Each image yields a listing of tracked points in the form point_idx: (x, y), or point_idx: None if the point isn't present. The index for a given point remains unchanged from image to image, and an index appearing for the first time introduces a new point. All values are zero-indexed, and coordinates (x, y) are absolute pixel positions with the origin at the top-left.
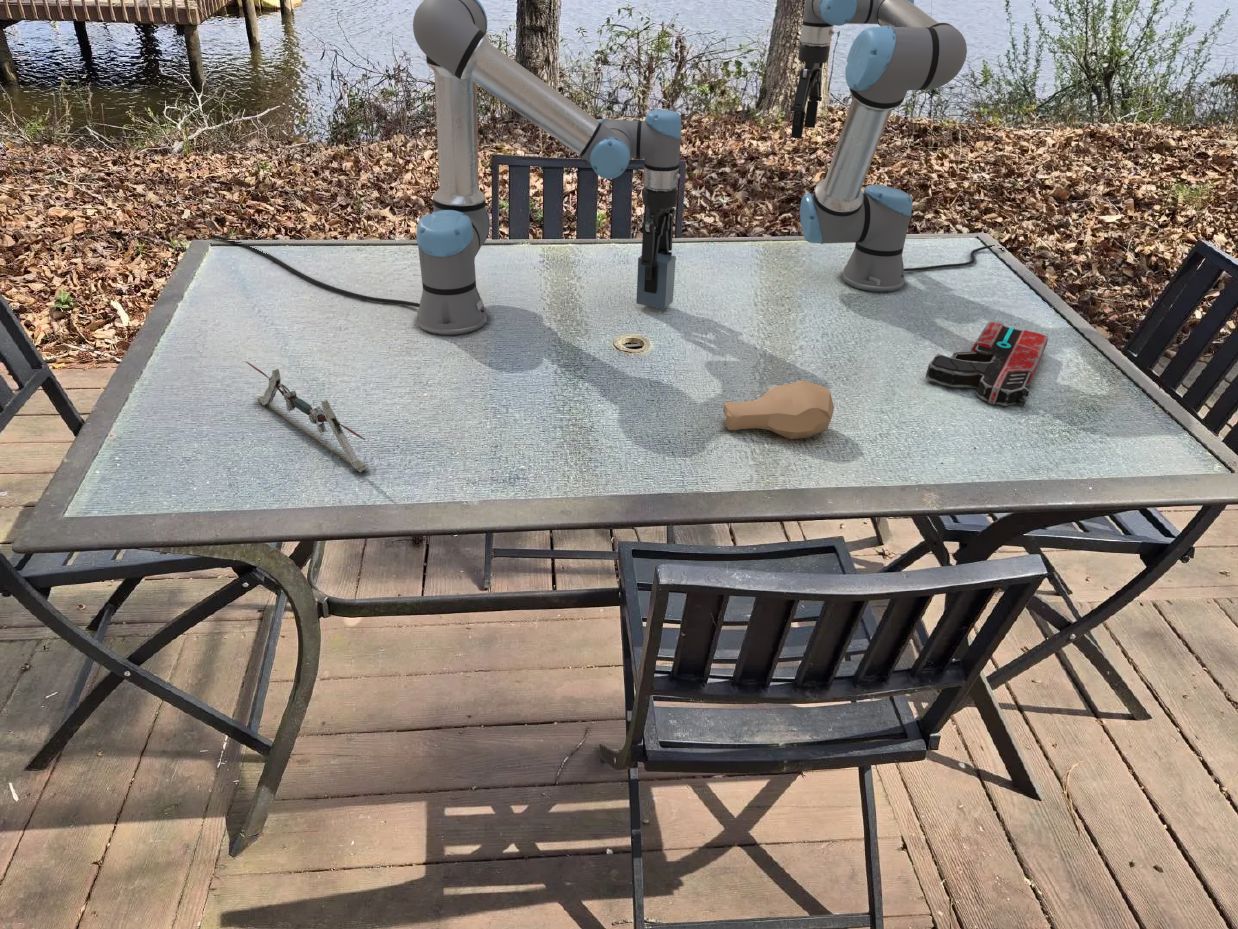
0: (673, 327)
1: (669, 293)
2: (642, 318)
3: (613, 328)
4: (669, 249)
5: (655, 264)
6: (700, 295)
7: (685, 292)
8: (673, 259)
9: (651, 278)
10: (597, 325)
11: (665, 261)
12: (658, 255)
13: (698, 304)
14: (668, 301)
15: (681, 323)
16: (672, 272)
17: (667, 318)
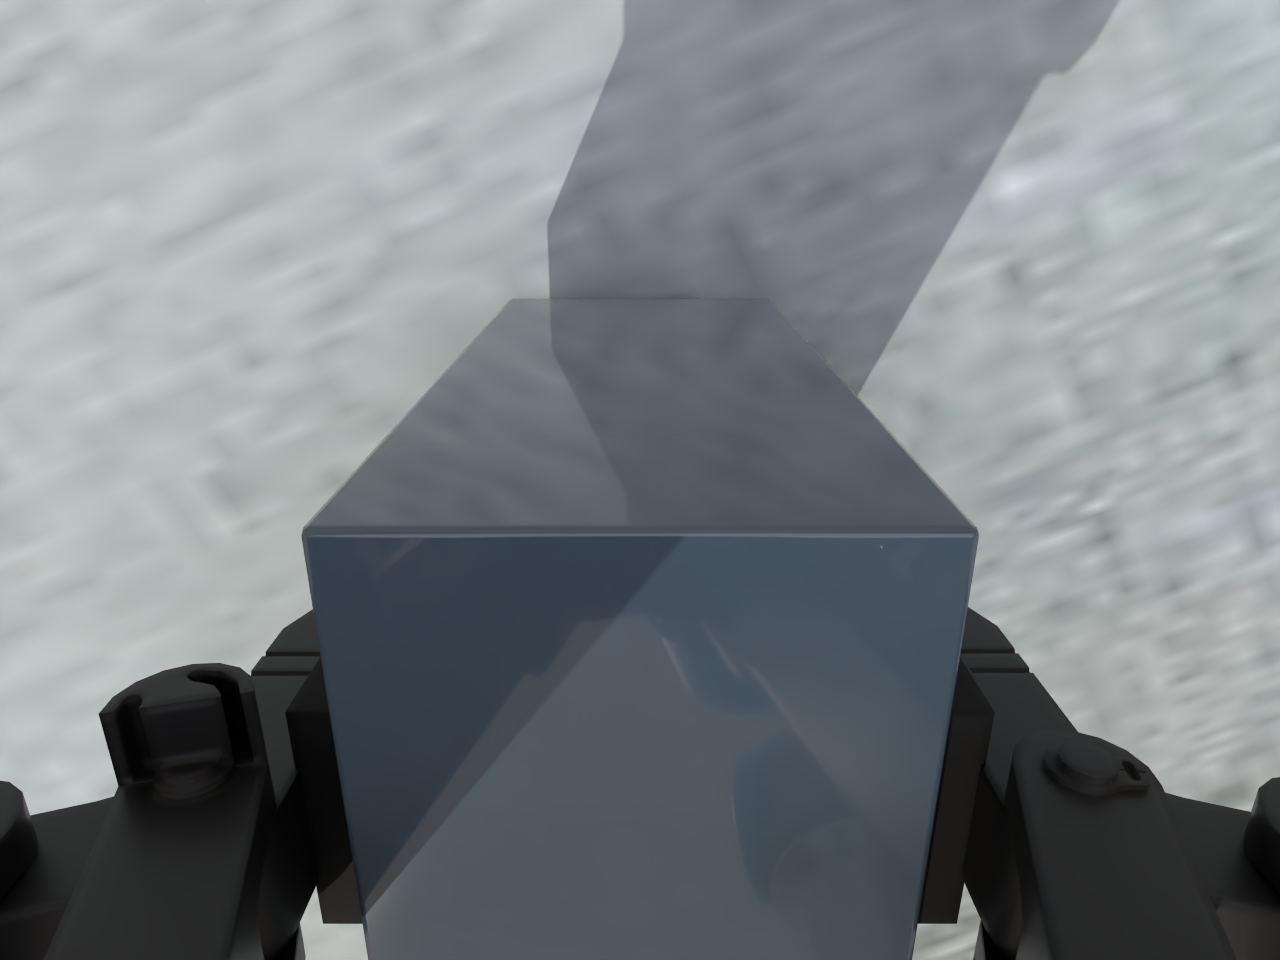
0: (1055, 57)
1: (650, 325)
2: (939, 452)
3: (1246, 593)
4: (24, 828)
5: (1107, 759)
6: (32, 107)
7: (78, 306)
8: (497, 511)
9: (997, 627)
10: (1216, 724)
11: (860, 624)
12: (523, 895)
13: (291, 25)
14: (666, 307)
15: (914, 9)
16: (551, 405)
17: (841, 220)
